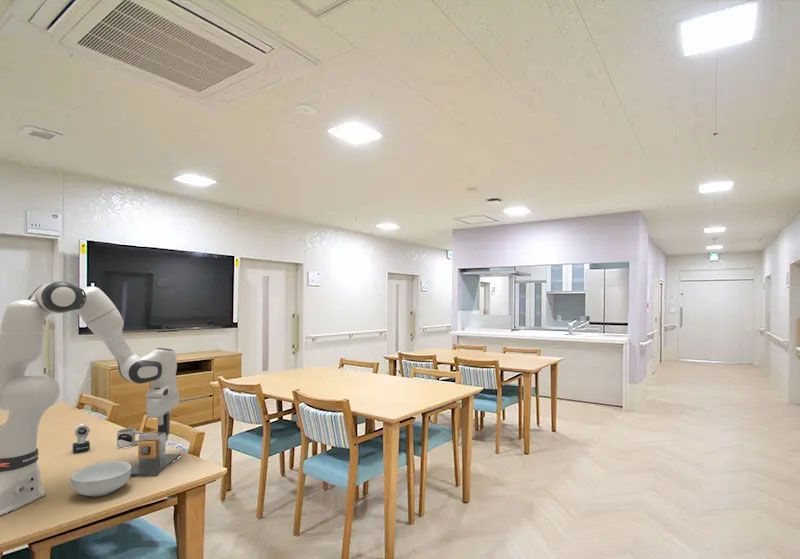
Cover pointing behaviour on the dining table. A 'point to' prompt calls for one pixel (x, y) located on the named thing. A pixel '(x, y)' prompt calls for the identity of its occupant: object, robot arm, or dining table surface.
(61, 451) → the dining table surface
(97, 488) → the cereal bowl
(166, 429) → the dark angled piece
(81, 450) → the watch
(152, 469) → the stand
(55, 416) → the dining table surface
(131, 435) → the mug
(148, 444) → the orange flat block
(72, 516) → the dining table surface
